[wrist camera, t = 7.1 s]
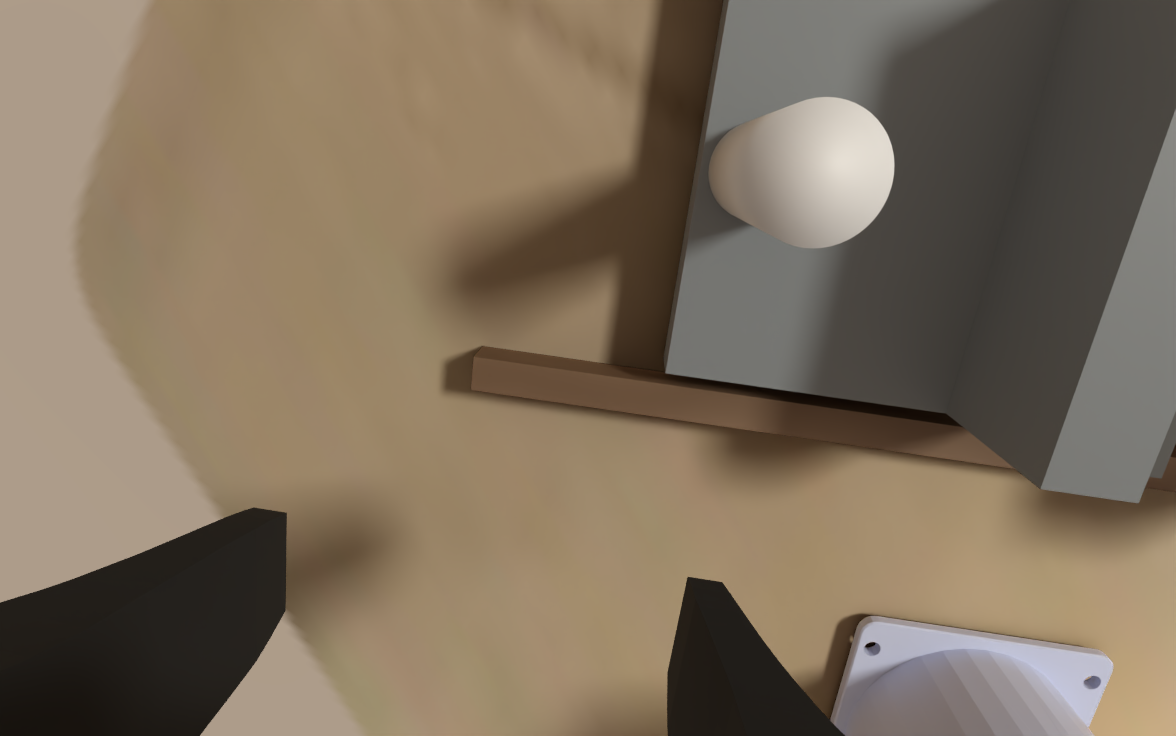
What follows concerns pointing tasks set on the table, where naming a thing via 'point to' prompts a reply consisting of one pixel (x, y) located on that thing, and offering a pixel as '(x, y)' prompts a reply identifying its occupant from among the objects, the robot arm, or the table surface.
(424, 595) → the table surface
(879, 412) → the frame
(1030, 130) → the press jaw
